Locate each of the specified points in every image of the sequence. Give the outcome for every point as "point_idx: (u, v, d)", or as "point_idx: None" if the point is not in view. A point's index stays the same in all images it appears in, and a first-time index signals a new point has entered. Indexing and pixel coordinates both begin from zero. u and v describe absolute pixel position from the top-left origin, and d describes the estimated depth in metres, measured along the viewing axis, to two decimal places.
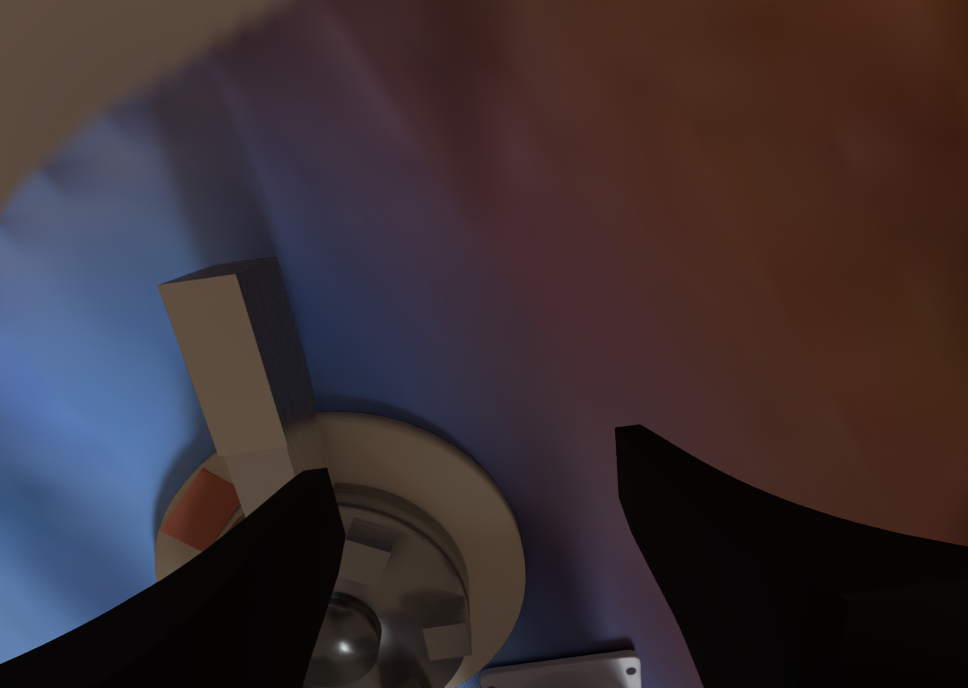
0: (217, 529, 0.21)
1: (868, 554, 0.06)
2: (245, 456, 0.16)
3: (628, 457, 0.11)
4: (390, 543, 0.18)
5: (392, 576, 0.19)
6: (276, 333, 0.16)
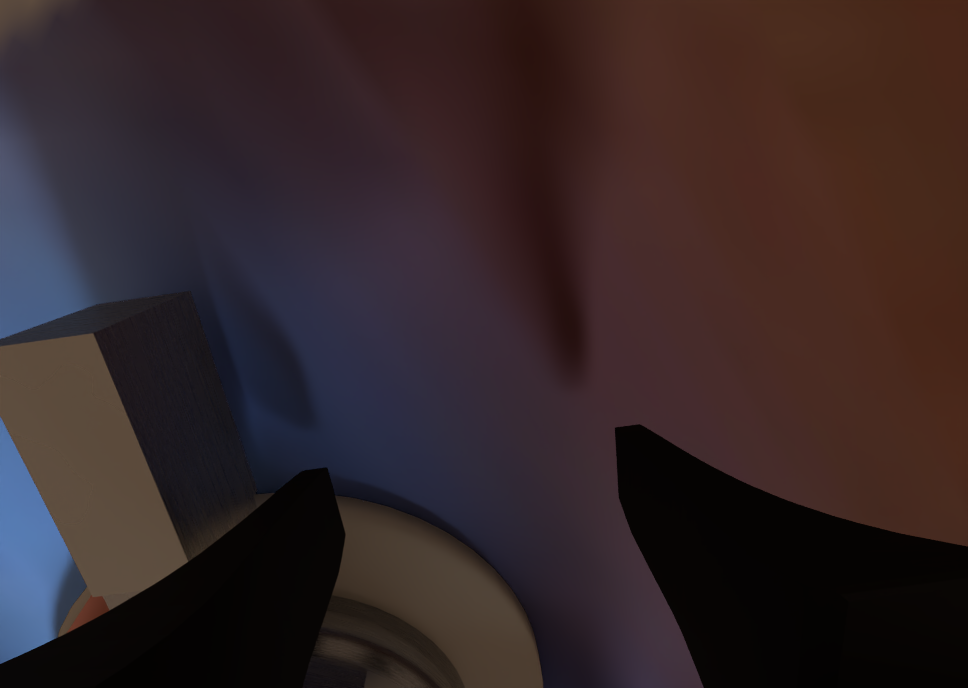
0: None
1: (868, 554, 0.06)
2: (134, 595, 0.10)
3: (628, 457, 0.11)
4: None
5: None
6: (182, 409, 0.11)
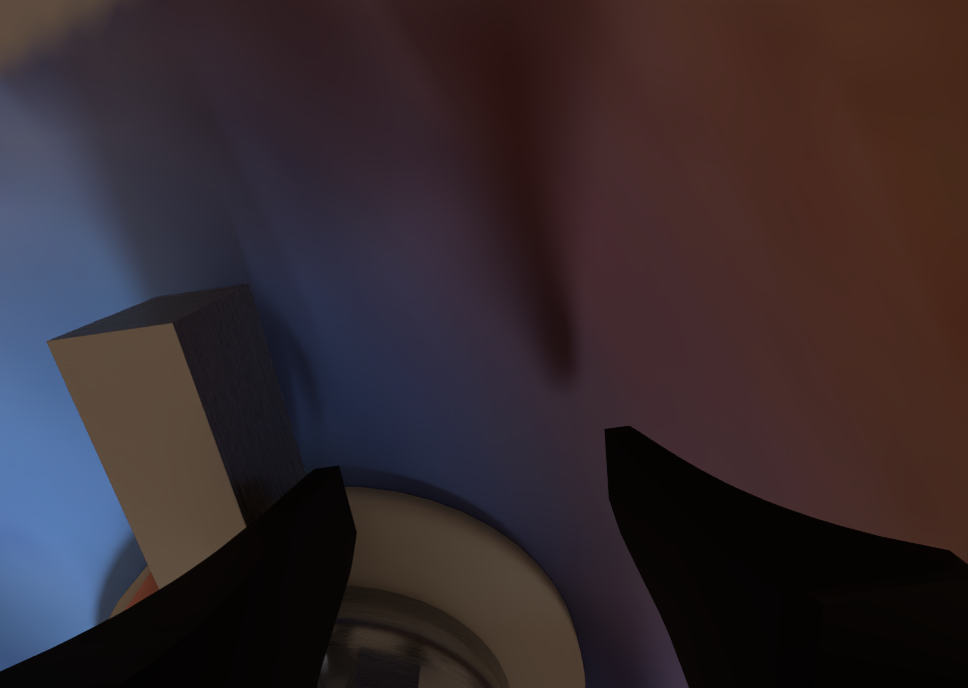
0: None
1: (847, 557, 0.06)
2: None
3: (617, 458, 0.11)
4: None
5: None
6: (246, 401, 0.11)
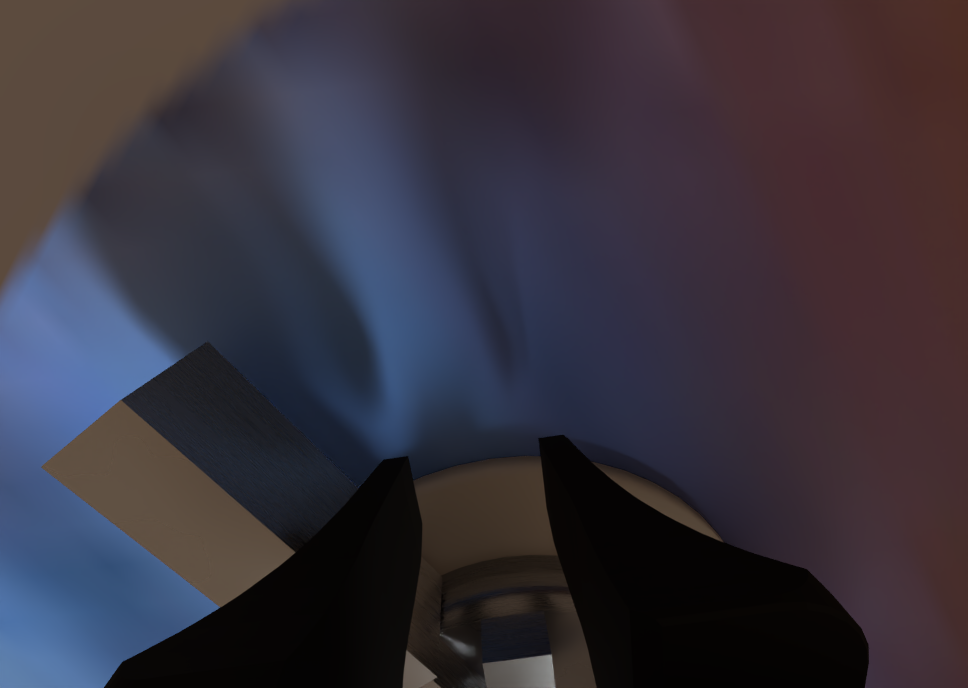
0: None
1: (709, 575, 0.06)
2: None
3: (546, 468, 0.11)
4: (544, 638, 0.12)
5: (572, 667, 0.13)
6: (247, 442, 0.11)
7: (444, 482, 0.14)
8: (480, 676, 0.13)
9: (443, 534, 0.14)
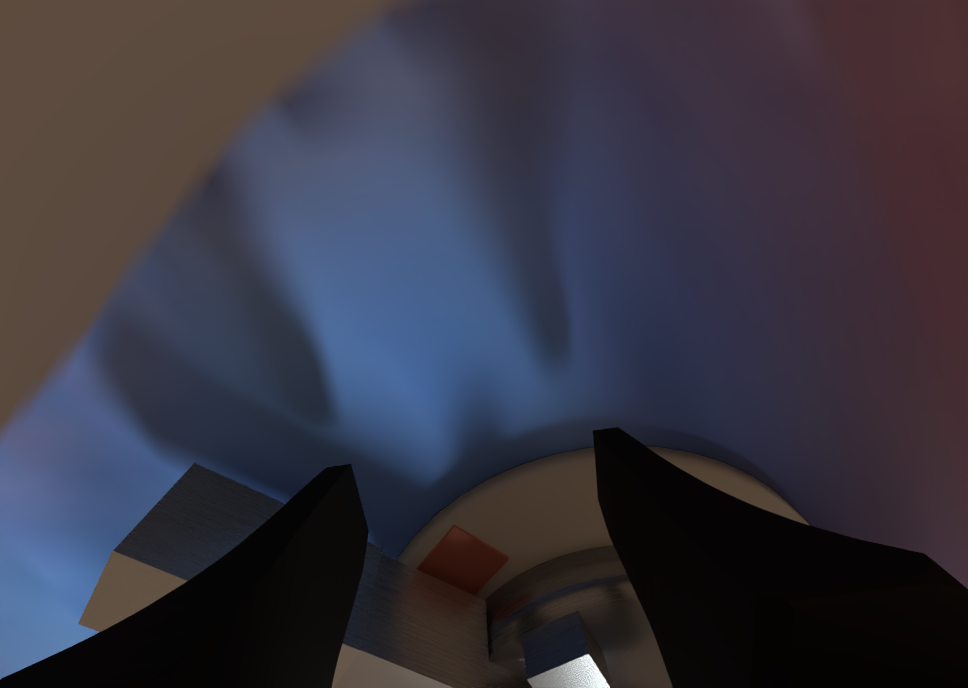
0: None
1: (822, 560, 0.06)
2: None
3: (604, 460, 0.11)
4: (580, 638, 0.12)
5: (630, 653, 0.13)
6: None
7: (544, 471, 0.14)
8: None
9: (542, 523, 0.15)
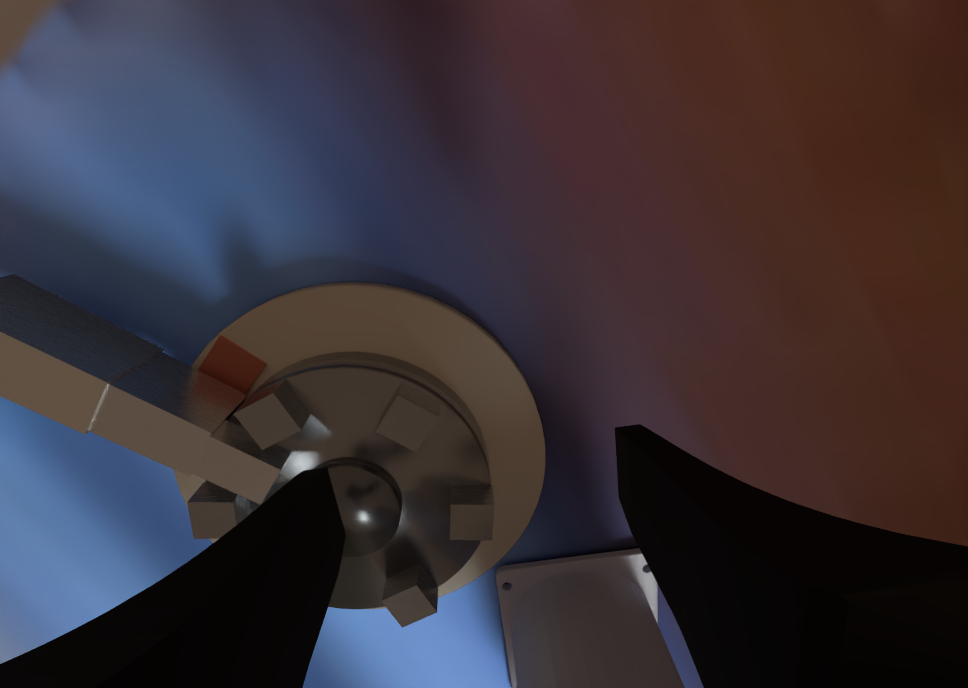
0: None
1: (868, 554, 0.06)
2: (99, 417, 0.17)
3: (628, 457, 0.11)
4: (275, 388, 0.17)
5: (332, 417, 0.18)
6: (39, 318, 0.17)
7: (287, 294, 0.19)
8: (274, 443, 0.18)
9: (287, 335, 0.20)
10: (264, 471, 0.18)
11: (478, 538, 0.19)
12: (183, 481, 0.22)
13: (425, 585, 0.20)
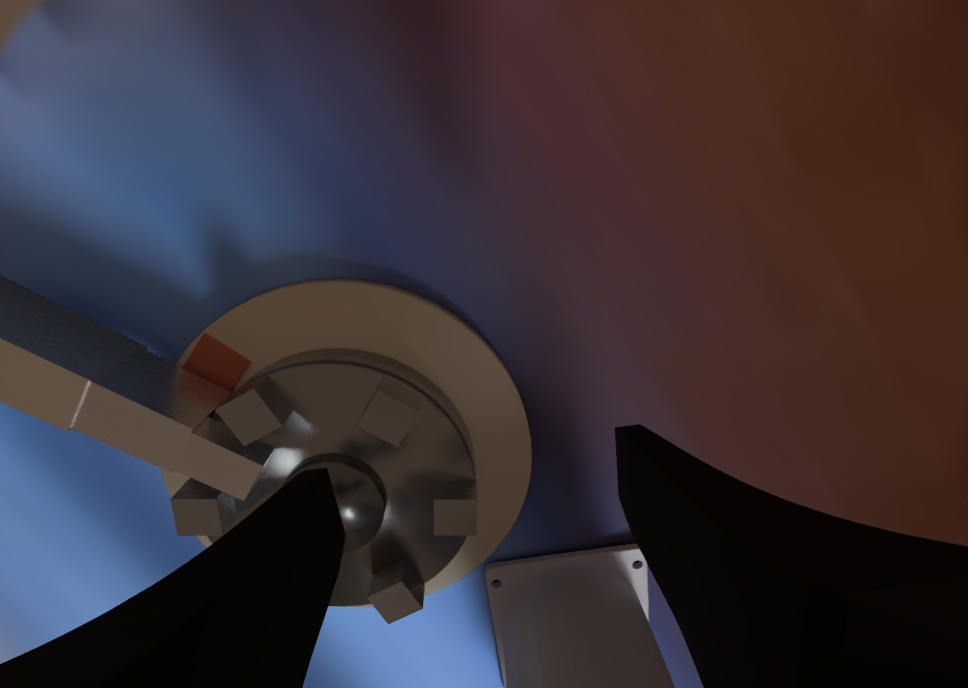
0: None
1: (868, 554, 0.06)
2: (81, 414, 0.17)
3: (628, 457, 0.11)
4: (256, 384, 0.17)
5: (315, 413, 0.18)
6: (22, 316, 0.17)
7: (270, 292, 0.19)
8: (257, 440, 0.19)
9: (271, 332, 0.20)
10: (246, 467, 0.18)
11: (462, 533, 0.19)
12: (170, 479, 0.22)
13: (411, 581, 0.20)
